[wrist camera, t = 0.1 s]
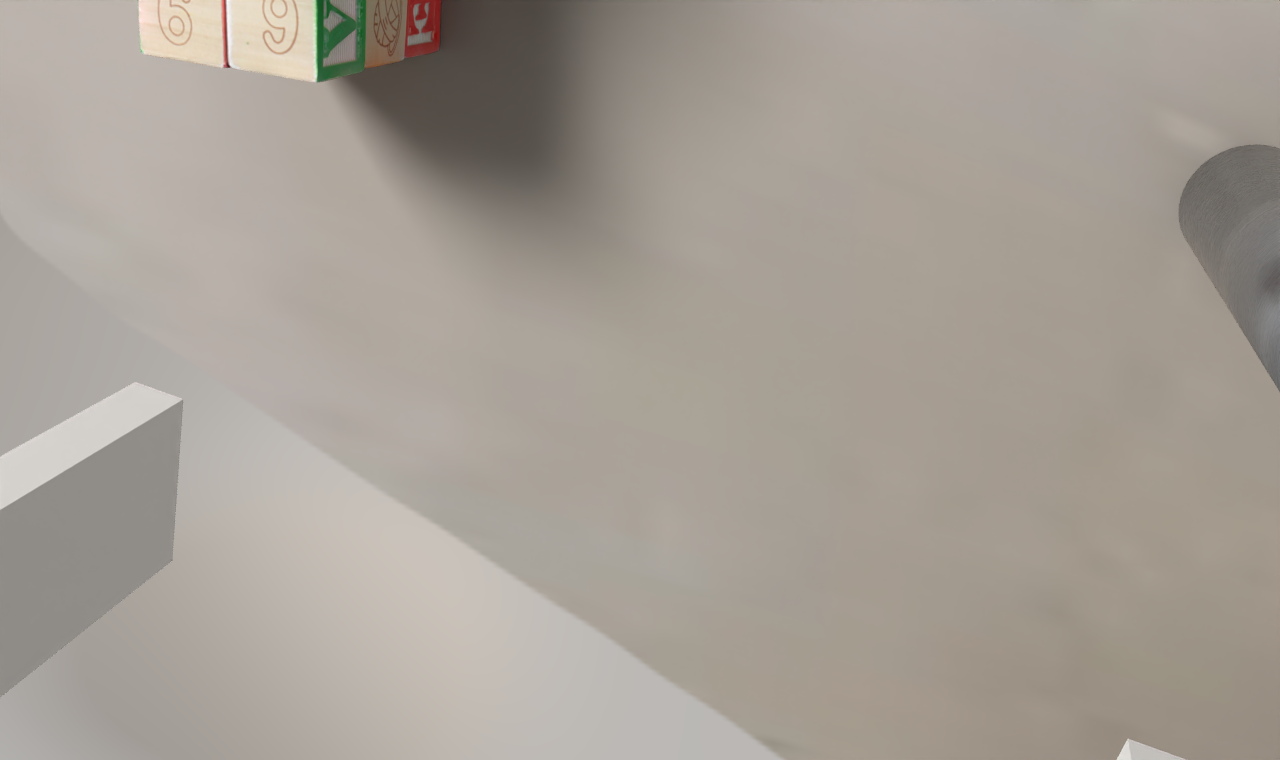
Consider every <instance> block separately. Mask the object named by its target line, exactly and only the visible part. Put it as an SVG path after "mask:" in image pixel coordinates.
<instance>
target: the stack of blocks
mask: <svg viewBox="0 0 1280 760" xmlns="http://www.w3.org/2000/svg"><path fill="white" fill-rule="evenodd" d="M440 16H441V0H138V19H139V38H140V50H141V53H142V54H146V55H151V56H157V57H162V58H168V59H174V60H180V61H186V62H192V63H197V64H202V65H208V66H214V67H219V68H230V67H231V68H235V69H240V70H245V71H250V72H256V73H261V74H267V75H273V76H281V77H285V78H291V79H297V80H302V81H308V82H316V83H317V82H324V81H328V80H332V79H336V78H339V77H343V76H347V75H351V74H355V73H360V72H362V71H363V70H364V68H372V67H378V66H382V65H386V64H390V63H395V62H400V61H402V60H403V59H404V58H410V57H415V56H420V55H425V54H429V53H433V52H436V51H438V50H439V45H440Z"/></svg>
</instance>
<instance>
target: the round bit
mask: <svg viewBox="0 0 1280 760" xmlns="http://www.w3.org/2000/svg"><path fill="white" fill-rule="evenodd" d="M1179 223H1180V227H1181V230H1182V233H1183V235H1184V237H1185V239H1186V241H1187V242H1188V244H1189V246H1190V247H1191V249H1192V250H1193V252H1194V254H1195V255H1196V257H1197V258H1198V260H1199V262H1200V263H1201V265H1202V267H1203V268H1204V270H1205V271H1206V273H1207V275H1208V276H1209V278H1210V280H1211V281H1212V283H1213V284H1214V286H1215V288H1216V289H1217V291H1218V292H1219V294H1220V296H1221V297H1222V299H1223V301H1224V302H1225V304H1226V305H1227V307H1228V309H1229V310H1230V312H1231V314H1232V315H1233V317H1234V318H1235V320H1236V322H1237V323H1238V325H1239V326H1240V328H1241V330H1242V331H1243V333H1244V335H1245V336H1246V338H1247V339H1248V341H1249V343H1250V344H1251V346H1252V347H1253V349H1254V351H1255V352H1256V354H1257V356H1258V357H1259V359H1260V360H1261V362H1262V364H1263V365H1264V367H1265V369H1266V370H1267V372H1268V373H1269V375H1270V377H1271V378H1272V380H1273V381H1274V383H1275V385H1276V386H1277V388H1278V390H1279V391H1280V149H1279V148H1276V147H1271V146H1266V145H1246V146H1239V147H1235V148H1232V149H1229V150H1226V151H1224V152H1221V153H1219V154H1218V155H1216V156H1214V157H1212V158H1211V159H1209V160H1208V161H1207V162H1205V163H1204V164H1203V165H1202V166H1201V167H1199V168H1198V169H1197V171H1196V172H1195V173H1194V174H1193V175H1192V177H1191V178H1190V179H1189V181H1188V182H1187V184H1186V186H1185V188H1184V190H1183V193H1182V196H1181V199H1180V204H1179Z"/></svg>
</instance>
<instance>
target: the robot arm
mask: <svg viewBox="0 0 1280 760" xmlns="http://www.w3.org/2000/svg"><path fill="white" fill-rule="evenodd" d="M182 409H183V399H181V398H178V397H176V396H173V395H170V394H167V393H164V392H162V391H159V390H156V389H153V388H150V387H148V386H145V385H142V384H139V383H137V382H135V383H133V384H131V385H129V386H127V387H125V388H124V389H122V390H120V391H118V392H116V393H115V394H113V395H111V396H109V397H107V398H105V399H104V400H102V401H100V402H98V403H96V404H95V405H93V406H91V407H89V408H87V409H85V410H84V411H82V412H80V413H79V414H76V415H75V416H73V417H71V418H69V419H67V420H65V421H64V422H62V423H60V424H58V425H56V426H55V427H53V428H51V429H49V430H47V431H46V432H44V433H42V434H40V435H38V436H36V437H35V438H33V439H31V440H29V441H27V442H26V443H24V444H22V445H20V446H18V447H16V448H15V449H13V450H11V451H9V452H7V453H6V454H4V455H2V456H0V697H1V696H2V695H4V694H5V693H6V692H7V691H9V690H10V689H11V688H13V687H14V686H15V685H16V684H17V683H19V682H20V681H21V680H22V679H24V678H25V677H26V676H27V675H29V674H30V673H31V672H33V671H34V670H35V669H36V668H38V667H39V666H40V665H41V664H43V663H44V662H45V661H46V660H48V659H49V658H50V657H52V656H53V655H54V654H55V653H57V652H58V651H59V650H60V649H62V648H63V647H64V646H65V645H66V644H68V643H69V642H70V641H72V640H73V639H74V638H75V637H77V636H78V635H79V634H80V633H82V632H83V631H84V630H85V629H87V628H88V627H89V626H90V625H92V624H93V623H94V622H96V621H97V620H98V619H99V618H101V617H102V616H103V615H104V614H106V613H107V612H108V611H109V610H110V609H112V608H113V607H114V606H115V605H117V604H118V603H119V602H121V601H122V600H123V599H124V598H126V597H127V596H128V595H129V594H131V593H132V592H133V591H134V590H136V589H137V588H138V587H139V586H141V585H142V584H143V583H145V582H146V581H147V580H148V579H149V578H151V577H152V576H153V575H155V574H156V573H157V572H158V571H160V570H161V569H162V568H163V567H165V566H166V565H167V564H168V563H170V562H171V561H172V555H173V540H174V526H175V512H176V497H177V483H178V469H179V453H180V439H181V425H182ZM1117 760H1186V759H1183V758H1180V757H1177V756H1175V755H1172V754H1169V753H1166V752H1163V751H1161V750H1158V749H1155V748H1152V747H1149V746H1147V745H1144V744H1141V743H1138V742H1136V741H1133V740H1130V739H1128V740H1127V741H1126V743H1125V745H1124V747H1123V749H1122V751H1121V753H1120V755H1119V756H1118V758H1117Z"/></svg>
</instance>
